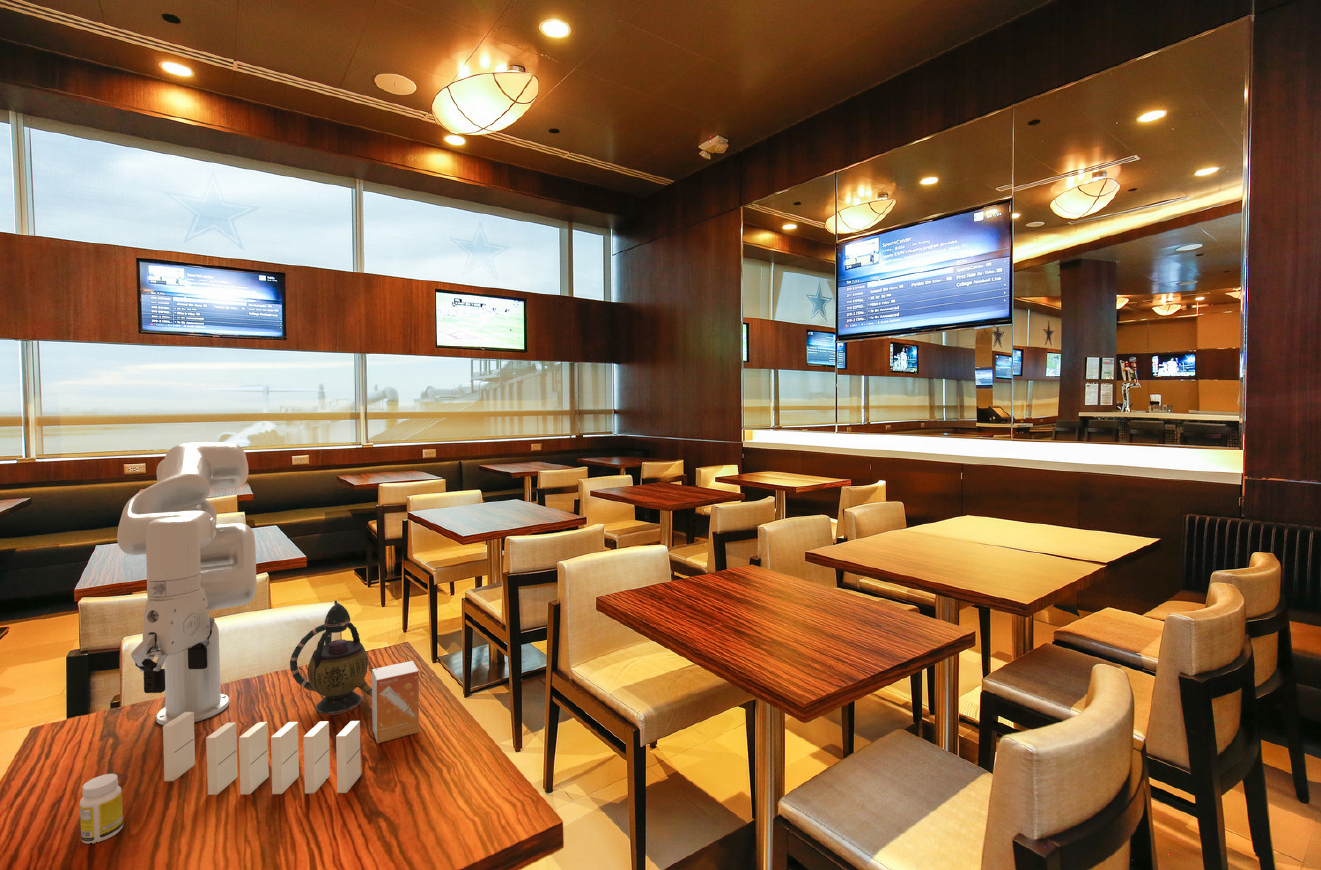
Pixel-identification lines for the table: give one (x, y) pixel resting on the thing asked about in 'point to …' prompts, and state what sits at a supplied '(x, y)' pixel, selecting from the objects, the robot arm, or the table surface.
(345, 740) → the domino
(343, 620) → the teapot
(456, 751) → the table surface
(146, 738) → the table surface
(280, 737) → the domino
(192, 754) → the domino
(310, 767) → the domino
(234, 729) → the domino
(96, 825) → the supplement bottle
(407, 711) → the small box
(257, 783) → the domino
